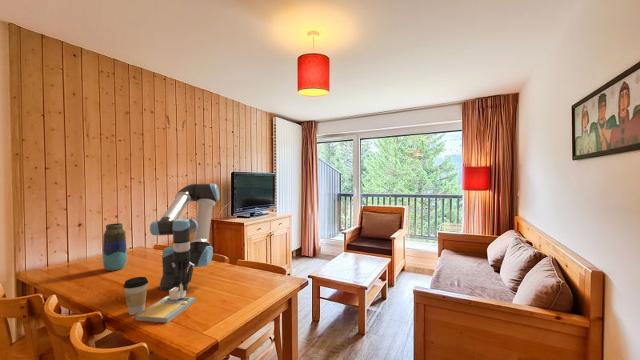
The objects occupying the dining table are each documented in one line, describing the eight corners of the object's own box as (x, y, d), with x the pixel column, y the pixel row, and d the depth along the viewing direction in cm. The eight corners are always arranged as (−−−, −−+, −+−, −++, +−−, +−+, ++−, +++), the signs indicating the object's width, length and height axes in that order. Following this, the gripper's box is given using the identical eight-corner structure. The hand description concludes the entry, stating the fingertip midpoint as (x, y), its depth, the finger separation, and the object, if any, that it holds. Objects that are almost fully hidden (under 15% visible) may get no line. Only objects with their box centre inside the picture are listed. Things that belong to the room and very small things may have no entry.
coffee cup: (132, 306, 133) (131, 276, 133) (152, 305, 134) (152, 275, 134) (118, 317, 123) (118, 284, 123) (141, 316, 124) (140, 283, 124)
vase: (131, 267, 192) (130, 223, 191) (107, 273, 180) (106, 226, 179) (122, 264, 199) (121, 222, 199) (99, 270, 187) (98, 225, 187)
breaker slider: (169, 299, 135) (169, 290, 135) (174, 295, 139) (174, 286, 139) (176, 299, 135) (176, 290, 135) (181, 296, 139) (181, 287, 139)
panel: (134, 320, 120) (134, 315, 120) (167, 299, 141) (167, 294, 141) (166, 323, 118) (166, 317, 118) (195, 301, 138) (195, 296, 138)
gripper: (164, 251, 133) (166, 299, 134) (189, 252, 132) (190, 300, 132) (175, 247, 141) (176, 292, 141) (198, 248, 139) (199, 294, 140)
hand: (183, 296), depth 137 cm, fingers closed
